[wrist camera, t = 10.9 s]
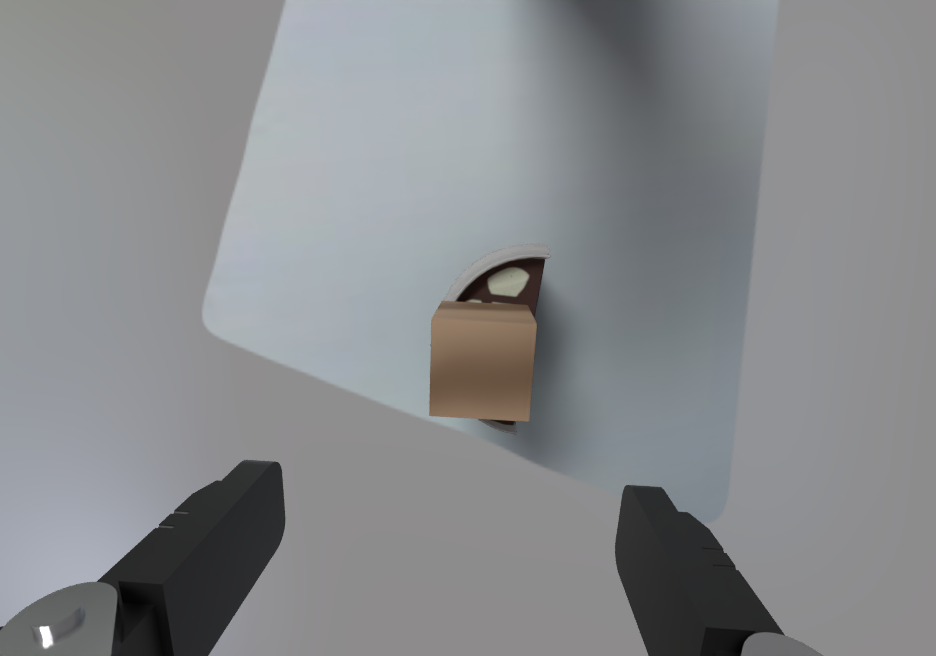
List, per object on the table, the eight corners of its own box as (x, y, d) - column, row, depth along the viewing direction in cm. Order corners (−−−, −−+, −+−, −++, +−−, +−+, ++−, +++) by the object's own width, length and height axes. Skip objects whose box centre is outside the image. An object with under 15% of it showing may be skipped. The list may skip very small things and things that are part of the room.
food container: (457, 228, 34) (444, 230, 24) (534, 240, 34) (552, 246, 24) (437, 373, 37) (418, 427, 27) (507, 384, 37) (514, 442, 27)
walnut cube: (442, 300, 25) (431, 318, 20) (527, 305, 25) (537, 324, 20) (440, 380, 27) (429, 416, 22) (521, 385, 26) (529, 421, 22)
